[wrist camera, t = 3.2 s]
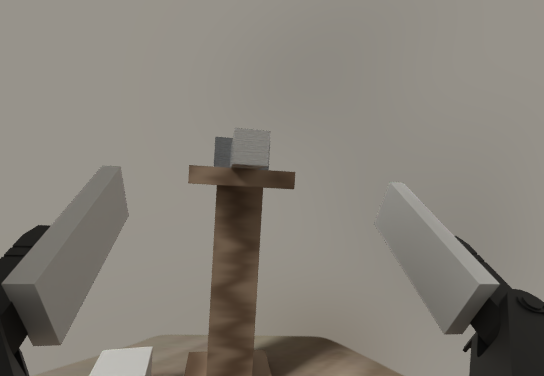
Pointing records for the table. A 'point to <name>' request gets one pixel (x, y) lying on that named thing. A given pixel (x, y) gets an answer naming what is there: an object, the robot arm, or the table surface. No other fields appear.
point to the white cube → (124, 362)
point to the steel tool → (243, 150)
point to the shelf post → (234, 270)
